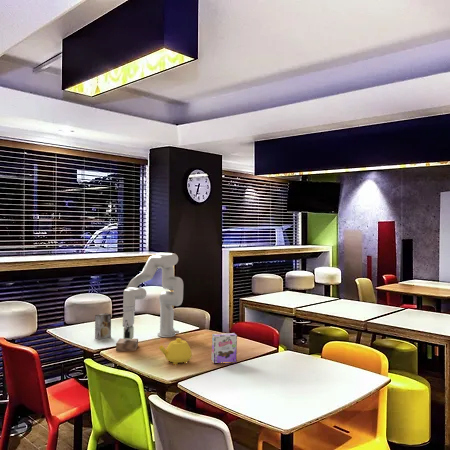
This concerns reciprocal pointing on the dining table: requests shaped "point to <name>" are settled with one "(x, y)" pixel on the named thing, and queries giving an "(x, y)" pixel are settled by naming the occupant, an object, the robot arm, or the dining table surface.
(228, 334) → the candy box
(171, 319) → the robot arm
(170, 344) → the teapot
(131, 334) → the sage block
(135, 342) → the block
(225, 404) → the dining table surface
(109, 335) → the coffee box
